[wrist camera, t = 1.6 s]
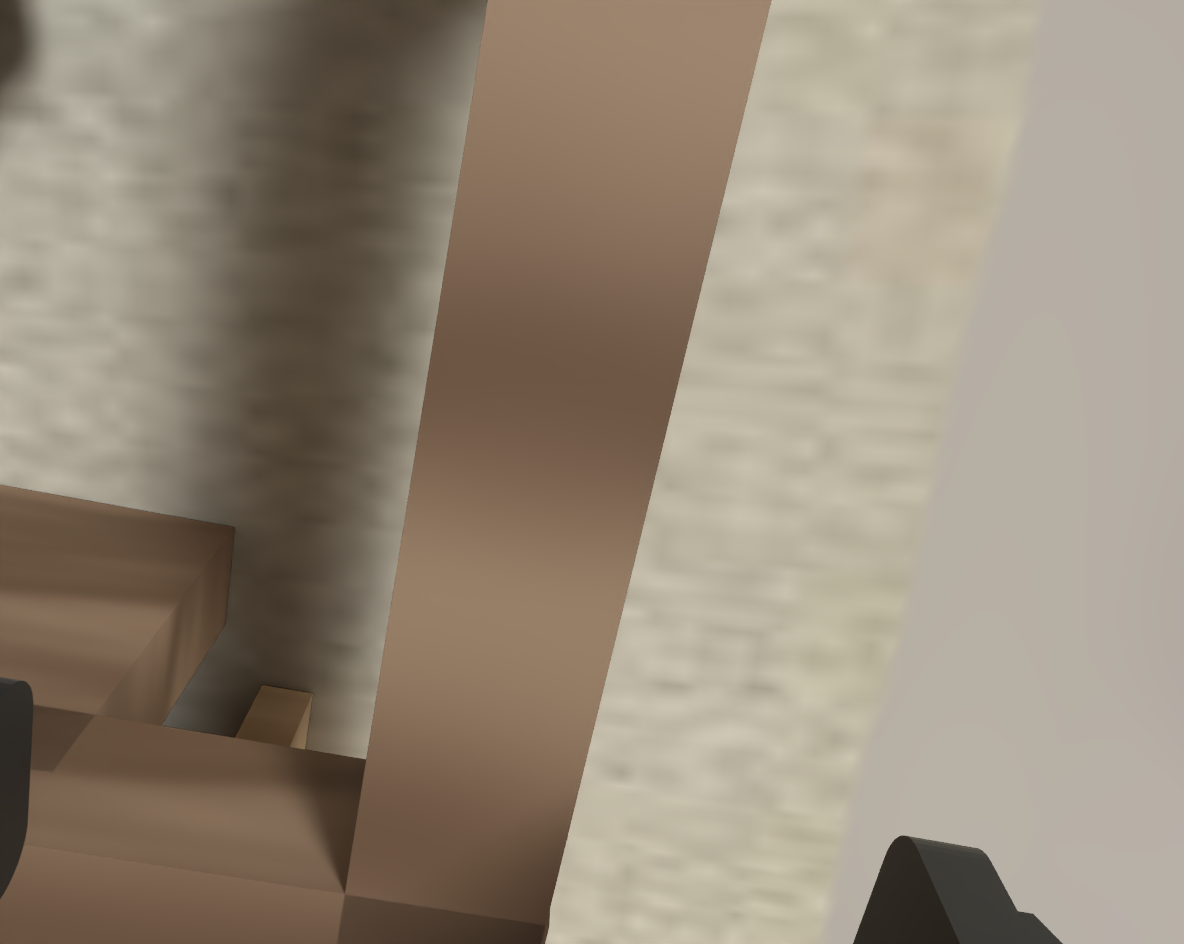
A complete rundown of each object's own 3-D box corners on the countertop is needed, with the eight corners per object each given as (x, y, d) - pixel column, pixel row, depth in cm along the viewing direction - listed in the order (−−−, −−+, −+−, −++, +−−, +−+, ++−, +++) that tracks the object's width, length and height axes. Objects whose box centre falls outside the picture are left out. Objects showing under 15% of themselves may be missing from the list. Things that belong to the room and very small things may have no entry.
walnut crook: (-164, -621, 17) (-1156, -1541, 7) (772, -378, 18) (994, -885, 9) (-131, 562, 24) (-609, 895, 15) (540, 679, 26) (516, 1057, 16)
